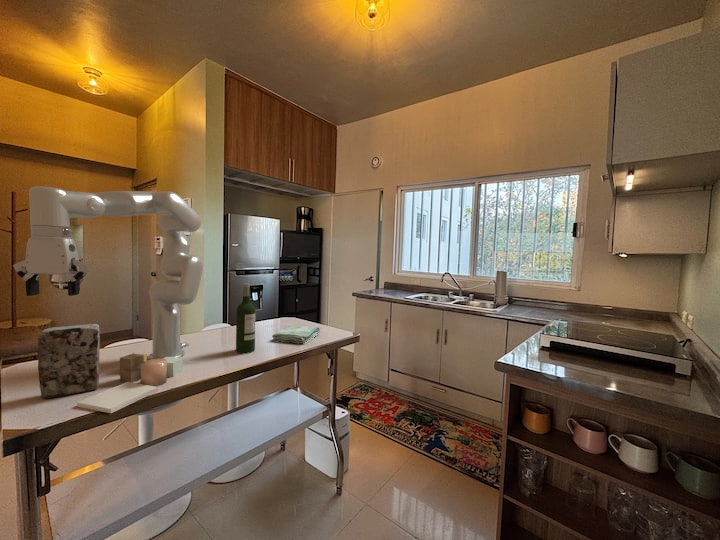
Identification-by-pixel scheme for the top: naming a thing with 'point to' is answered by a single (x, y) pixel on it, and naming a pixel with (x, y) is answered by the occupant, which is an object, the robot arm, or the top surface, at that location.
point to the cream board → (117, 397)
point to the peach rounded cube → (154, 372)
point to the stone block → (68, 359)
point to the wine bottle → (245, 324)
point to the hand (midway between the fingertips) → (53, 295)
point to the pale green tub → (174, 365)
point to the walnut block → (131, 367)
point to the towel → (296, 334)
